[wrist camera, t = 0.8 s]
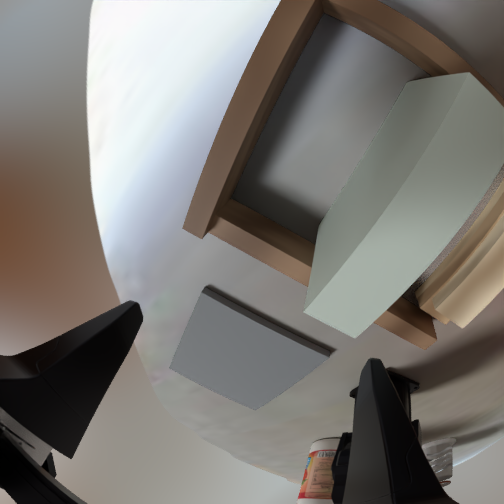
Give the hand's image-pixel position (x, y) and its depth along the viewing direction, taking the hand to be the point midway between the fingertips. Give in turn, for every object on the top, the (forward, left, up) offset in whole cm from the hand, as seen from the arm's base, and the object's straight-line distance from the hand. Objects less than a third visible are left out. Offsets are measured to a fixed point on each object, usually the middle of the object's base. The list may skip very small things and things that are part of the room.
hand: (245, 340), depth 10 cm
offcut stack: (-14, -6, -12) cm, 20 cm away
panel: (-3, -6, -12) cm, 14 cm away
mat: (-3, +20, -12) cm, 24 cm away
